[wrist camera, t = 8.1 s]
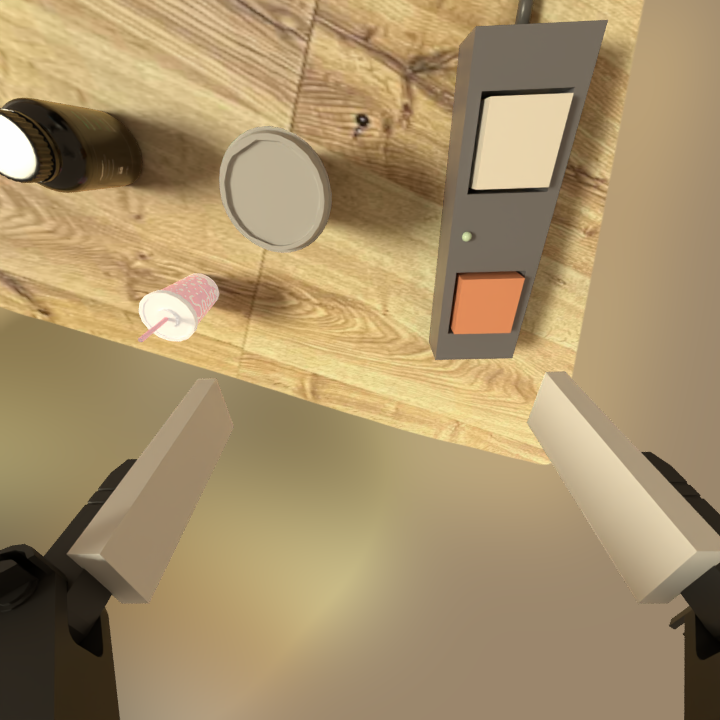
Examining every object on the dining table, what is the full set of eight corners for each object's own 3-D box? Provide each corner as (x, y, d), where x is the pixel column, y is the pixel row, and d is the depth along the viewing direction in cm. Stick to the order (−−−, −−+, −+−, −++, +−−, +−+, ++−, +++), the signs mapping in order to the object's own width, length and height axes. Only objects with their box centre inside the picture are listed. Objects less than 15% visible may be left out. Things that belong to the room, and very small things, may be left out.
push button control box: (466, -20, 27) (489, -58, 22) (588, -26, 27) (638, -67, 22) (428, 341, 47) (436, 362, 42) (498, 340, 46) (514, 361, 41)
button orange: (452, 266, 39) (462, 279, 35) (507, 265, 39) (524, 278, 35) (445, 317, 43) (454, 334, 39) (496, 315, 43) (510, 332, 39)
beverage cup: (224, 314, 44) (174, 370, 33) (180, 304, 44) (113, 358, 32) (225, 273, 41) (170, 320, 30) (177, 262, 40) (101, 305, 29)
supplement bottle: (129, 199, 36) (41, 215, 26) (67, 150, 34) (-57, 148, 24) (155, 149, 34) (66, 146, 24) (89, 92, 31) (-41, 61, 21)
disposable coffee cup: (340, 137, 33) (330, 129, 23) (338, 232, 38) (330, 259, 28) (250, 131, 33) (201, 120, 23) (261, 227, 38) (224, 252, 28)
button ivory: (473, 104, 31) (490, 96, 26) (544, 101, 30) (573, 92, 26) (462, 185, 34) (476, 189, 30) (526, 183, 34) (548, 187, 30)
